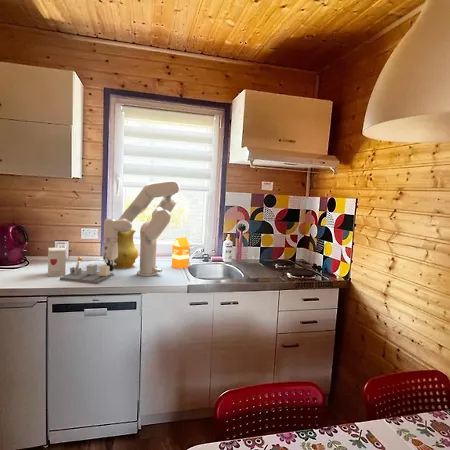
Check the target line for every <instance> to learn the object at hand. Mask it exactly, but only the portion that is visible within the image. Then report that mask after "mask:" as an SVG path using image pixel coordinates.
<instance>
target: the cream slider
mask: <svg viewBox="0 0 450 450" xmlns="http://www.w3.org/2000/svg"><path fill="white" fill-rule="evenodd" d="M99 272H100V276H107V275H110V273H111V272H110V266H107V265H106V264H103V265H101V266H99Z"/></svg>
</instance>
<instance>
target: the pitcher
mask: <svg viewBox="0 0 450 450" xmlns="http://www.w3.org/2000/svg"><path fill="white" fill-rule="evenodd" d="M135 233H136V230H135V229H132V228H131V230H130V231H128V232H119V231H118V232H117V244H118V258H116V259H115V260H114V263H113V264H115V265H113V268H116V269H130V268H134V267H135V264H134V263H136V260H137V258H138V257H139V252H138V249H137V247H136V246H135V243H134V234H135Z"/></svg>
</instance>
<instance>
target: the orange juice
mask: <svg viewBox="0 0 450 450" xmlns="http://www.w3.org/2000/svg"><path fill="white" fill-rule="evenodd" d="M171 247H172V249H171V250H172V251H171V267H173V268H175V269H182V268H189V265H190V244H189V241H188V238H187V236H184V237H176V239H175V240H174V242H173V243H172V246H171Z"/></svg>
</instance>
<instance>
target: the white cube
mask: <svg viewBox="0 0 450 450" xmlns="http://www.w3.org/2000/svg"><path fill="white" fill-rule="evenodd" d="M85 269H86V270H85V271H86V274H90V275H94V274H96V273H97V272H98V271H97V270H98V264H96V263H95V264H93V263H92V264H91V263H90V264H86V268H85Z"/></svg>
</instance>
